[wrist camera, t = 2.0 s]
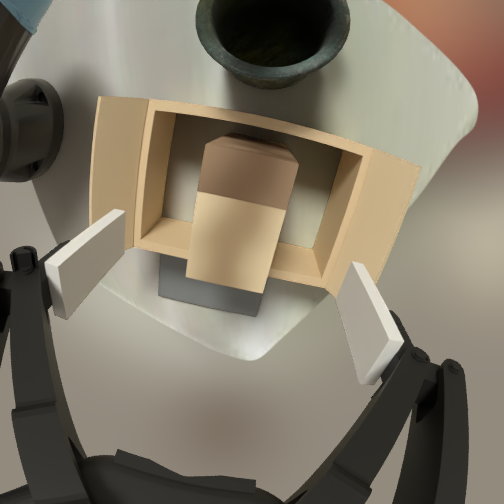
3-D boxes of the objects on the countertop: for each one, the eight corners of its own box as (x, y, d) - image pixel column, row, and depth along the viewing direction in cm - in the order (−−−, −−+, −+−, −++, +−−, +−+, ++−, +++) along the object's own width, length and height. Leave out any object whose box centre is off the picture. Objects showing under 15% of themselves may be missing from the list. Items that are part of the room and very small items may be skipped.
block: (214, 215, 34) (185, 277, 22) (230, 132, 30) (205, 143, 17) (264, 226, 35) (262, 293, 22) (284, 144, 30) (299, 164, 18)
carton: (134, 218, 35) (89, 260, 25) (148, 99, 28) (96, 96, 18) (337, 262, 36) (360, 318, 26) (375, 149, 30) (422, 167, 20)
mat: (159, 292, 40) (158, 295, 39) (164, 228, 35) (162, 230, 35) (256, 314, 41) (256, 317, 40) (274, 252, 36) (274, 254, 36)
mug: (198, 50, 26) (164, 19, 15) (294, -23, 21) (305, -76, 10) (267, 113, 29) (269, 111, 18) (361, 39, 24) (406, 9, 13)
